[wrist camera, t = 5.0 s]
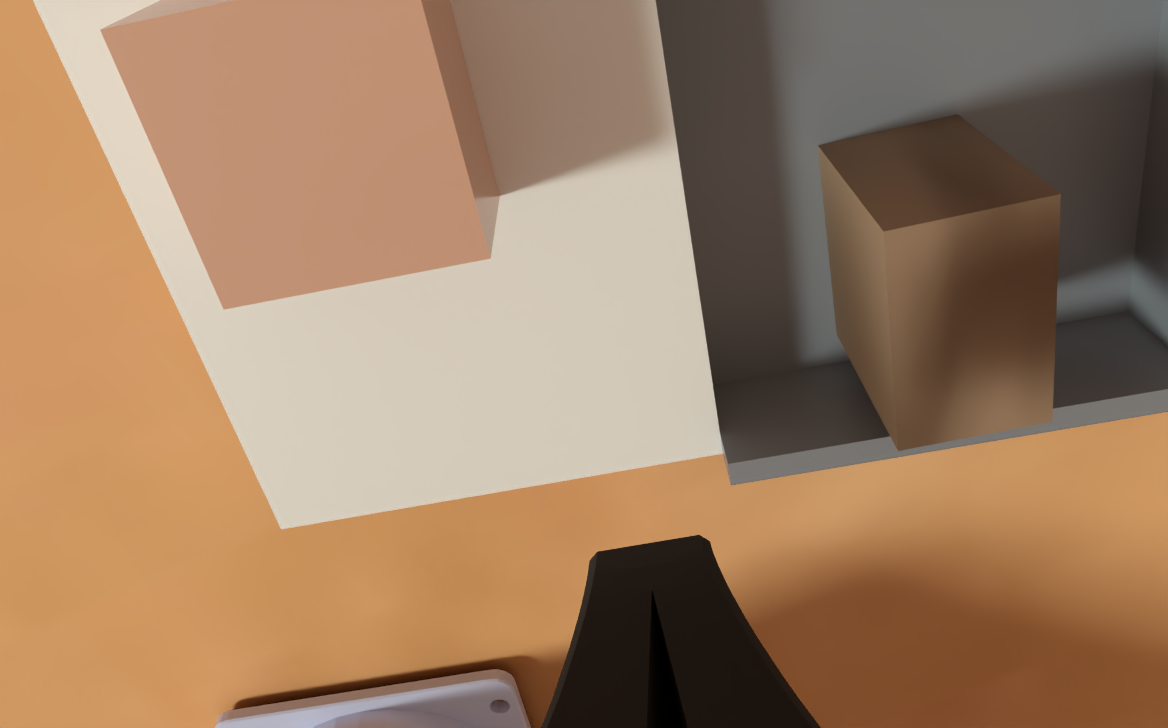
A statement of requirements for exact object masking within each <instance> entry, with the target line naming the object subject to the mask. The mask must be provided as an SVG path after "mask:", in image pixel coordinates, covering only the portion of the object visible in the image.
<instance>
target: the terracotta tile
mask: <svg viewBox="0 0 1168 728" xmlns="http://www.w3.org/2000/svg"><path fill="white" fill-rule="evenodd" d="M100 31H101V33H102V35H103V38H104V40H105V42H106V44H107V47H108V49H109V51H110V53H111V56H112V58H113V60H114V63H115V65H116V67H117V69H118V72H119V74H120V76H121V78H122V81H123V83H124V85H125V87H126V90H127V92H128V94H129V97H130V99H131V101H132V103H133V106H134V108H135V110H136V112H137V115H138V117H139V119H140V121H141V124H142V126H143V128H144V130H145V133H146V135H147V137H148V140H149V142H150V144H151V146H152V149H153V151H154V153H155V155H156V158H157V160H158V162H159V164H160V167H161V169H162V171H163V174H164V176H165V178H166V180H167V183H168V185H169V187H170V189H171V192H172V194H173V196H174V198H175V201H176V203H177V205H178V207H179V210H180V212H181V214H182V217H183V219H184V221H185V223H186V226H187V228H188V230H189V232H190V235H191V237H192V239H193V241H194V244H195V246H196V248H197V251H198V253H199V255H200V257H201V260H202V262H203V264H204V266H205V269H206V271H207V273H208V275H209V278H210V280H211V282H212V284H213V287H214V289H215V291H216V294H217V296H218V298H219V300H220V303H221V305H222V307H223V309H230V308H235V307H240V306H245V305H251V304H256V303H261V302H266V301H271V300H277V299H282V298H287V297H292V296H298V295H303V294H308V293H313V292H318V291H324V290H329V289H334V288H339V287H345V286H350V285H355V284H360V283H366V282H371V281H376V280H381V279H386V278H392V277H397V276H402V275H407V274H413V273H418V272H423V271H428V270H433V269H439V268H444V267H449V266H454V265H460V264H465V263H470V262H475V261H481V260H486V259H491V253H492V246H493V239H494V233H495V226H496V219H497V212H498V206H499V199H500V195H499V191H498V187H497V183H496V179H495V175H494V171H493V167H492V163H491V159H490V155H489V151H488V147H487V143H486V140H485V136H484V132H483V128H482V124H481V120H480V116H479V112H478V108H477V104H476V100H475V96H474V92H473V88H472V85H471V81H470V77H469V73H468V69H467V65H466V61H465V57H464V53H463V49H462V45H461V41H460V37H459V33H458V30H457V26H456V22H455V18H454V14H453V10H452V6H451V2H450V0H159V1H157V2H155V3H153V4H151V5H149V6H147V7H145V8H143V9H141V10H139V11H137V12H135V13H133V14H131V15H129V16H127V17H125V18H123V19H121V20H119V21H117V22H115V23H113V24H110V25H108V26H106V27H104V28H102V29H100Z"/></svg>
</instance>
